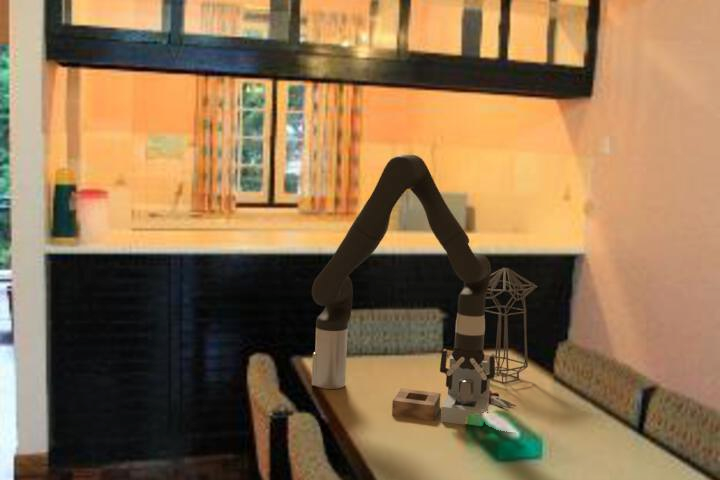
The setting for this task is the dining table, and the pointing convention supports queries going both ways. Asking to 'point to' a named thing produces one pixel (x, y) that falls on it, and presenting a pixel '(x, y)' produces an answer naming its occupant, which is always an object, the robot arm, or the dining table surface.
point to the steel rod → (465, 392)
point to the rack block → (450, 407)
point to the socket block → (416, 404)
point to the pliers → (499, 400)
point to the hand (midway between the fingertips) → (466, 390)
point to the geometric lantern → (493, 285)
